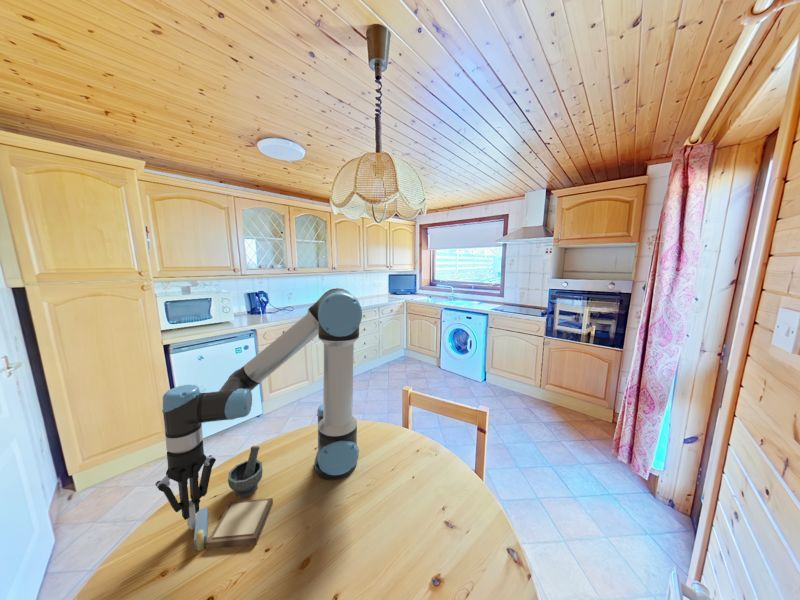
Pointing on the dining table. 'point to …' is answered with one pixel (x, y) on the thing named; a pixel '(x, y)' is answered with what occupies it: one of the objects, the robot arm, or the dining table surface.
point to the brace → (201, 529)
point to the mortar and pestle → (246, 475)
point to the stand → (240, 524)
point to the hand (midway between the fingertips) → (191, 525)
